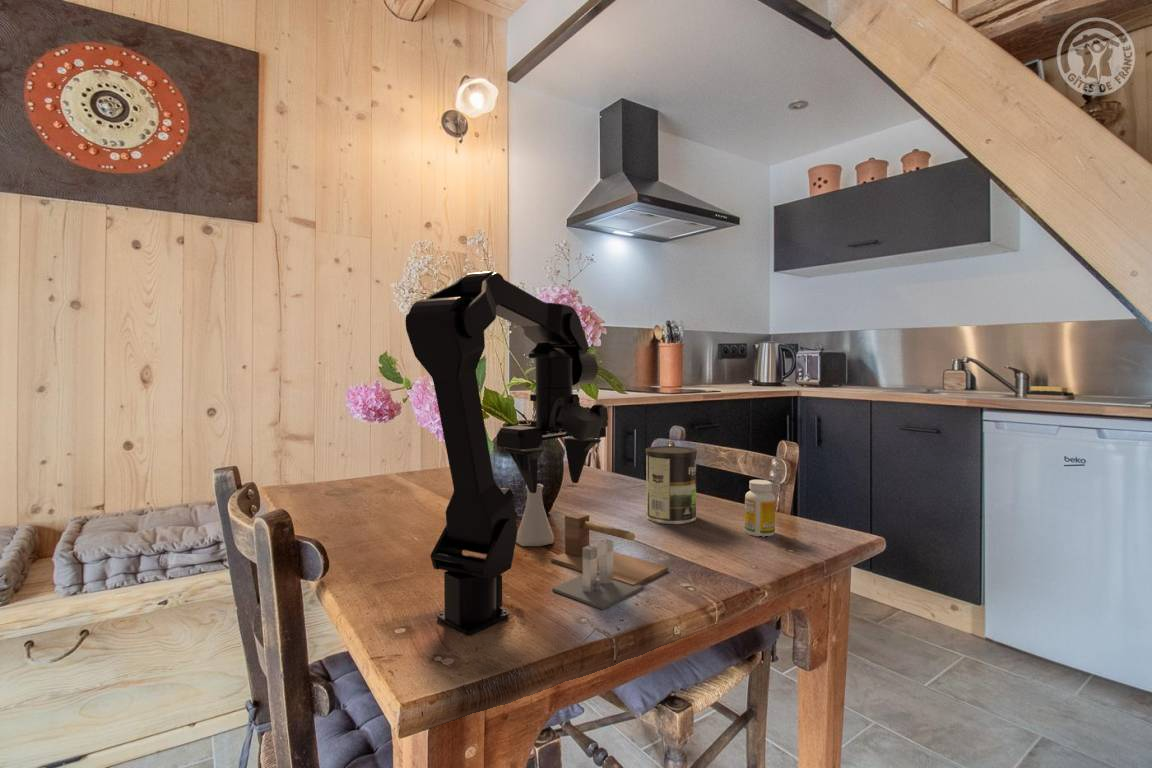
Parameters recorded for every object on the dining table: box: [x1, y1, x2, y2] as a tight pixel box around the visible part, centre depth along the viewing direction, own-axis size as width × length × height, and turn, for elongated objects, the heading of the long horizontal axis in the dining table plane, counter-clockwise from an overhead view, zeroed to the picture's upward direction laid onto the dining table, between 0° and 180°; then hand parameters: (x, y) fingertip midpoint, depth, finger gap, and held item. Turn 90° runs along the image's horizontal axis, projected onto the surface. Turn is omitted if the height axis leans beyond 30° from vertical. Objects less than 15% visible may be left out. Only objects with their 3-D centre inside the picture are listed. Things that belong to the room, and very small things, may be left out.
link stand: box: [550, 511, 669, 586], centre depth 86 cm, size 9×16×7 cm, turn 48°
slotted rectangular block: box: [582, 538, 614, 594], centre depth 77 cm, size 5×1×6 cm, turn 138°
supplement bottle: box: [744, 479, 776, 538], centre depth 103 cm, size 5×5×10 cm
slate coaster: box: [551, 574, 644, 611], centre depth 77 cm, size 9×9×1 cm
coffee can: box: [645, 445, 698, 525], centre depth 113 cm, size 10×10×14 cm
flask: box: [515, 483, 555, 547], centre depth 98 cm, size 7×7×10 cm
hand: (554, 487), depth 87 cm, fingers open, 9 cm apart
